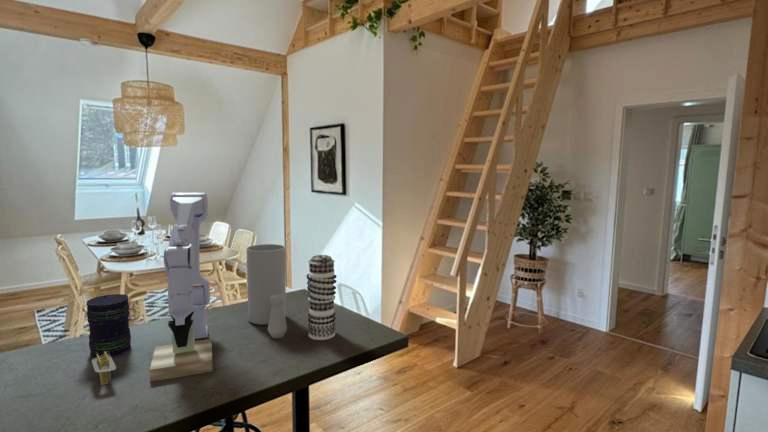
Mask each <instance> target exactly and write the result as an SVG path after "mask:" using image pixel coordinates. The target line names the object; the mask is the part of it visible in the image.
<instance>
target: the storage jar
mask: <svg viewBox="0 0 768 432" xmlns="http://www.w3.org/2000/svg"><path fill="white" fill-rule="evenodd" d="M129 302H130V301H129V296H128V295H127V294H123V293H119V294H118V293H116V294H115V293H114V294H113V293H112V294H106V295H104V294H103V295H99V296H96V297H92V298H90V299H88V300H87V301H86V306H87V307H86V316H87V323H88V330H89V336H88V346H89V356H90V357H91V358H92V359H94V358H96V357H97V354H98V356H100V355H102V354H104V352H106V353H110V355H111V357H112V358H116V357H118V356H122V355H124V354H126V353H128V352H129V351H131V349H132V344H131V339H132V334H131V329H130V324H129V323H130V322H129V319H130V318H129V317H130V303H129Z"/></svg>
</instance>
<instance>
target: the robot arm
mask: <svg viewBox="0 0 768 432" xmlns="http://www.w3.org/2000/svg"><path fill="white" fill-rule="evenodd" d="M208 199H209V198H208V194H207V193H206V192H172V193H171V194H170V197H169V205H170V211H171V213H172V216H173V218H174V220H175V221H176V225H175V226H174V227H173V228H172V229H171V232H170V237H169V243H168V248H165V249H164V250H163V265H164V269H165V277H167V295H168V310H167V314H169V316H170V317H171V319H172V320H168V324H167V325H168V326H167V327H168V328H170V330H171V332H173V334H174V337H175V341H176V345H177V347H178V348H179V347H186V346H187V342H188V334H189V330H190V327H191V325H194V335H195V340H198V339H204V338H207V337H208V335H209V334H208V325H207V320H206V319H207V318H206V306H208V305H209V304H210V301H211V289H210V281H209V279H208V278H206V277H204V276H203V275H202V274H201V272H200V270H201V269H200V267H201V266H200V263H201V262H200V229H201V228H200V227H201V225H202V222H203V221H206V220H207V219H208V213H209V212H208V203H209V202H208Z"/></svg>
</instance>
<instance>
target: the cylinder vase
mask: <svg viewBox="0 0 768 432" xmlns="http://www.w3.org/2000/svg"><path fill="white" fill-rule="evenodd" d="M246 280H247V281H246V283H247V288H246V289H247V319H248V322H250V323H251V324H254V325H260V326H267V325H269V319H270V313H271V307H272V303H270V297H271V296H272V295H275V294H282V295H283V296H284V302H283V308H284V314H285V318H286V316H287V311H286V310H287V308H286V307H287V305H286V300H287V299H286V290H287V289H286V246H285V245H282V244H272V243H265V244H256V245H255V244H254V245H251V246H247V247H246Z"/></svg>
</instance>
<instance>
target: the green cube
mask: <svg viewBox="0 0 768 432" xmlns="http://www.w3.org/2000/svg"><path fill="white" fill-rule="evenodd" d="M171 332H172V331H171ZM171 338H172V339H171V340H172V344H171V345H173V353H178V352H185V351H192V350H194V348H195V340H196V339H195V335H194V325H191V327H190V330H189V334H188V342H187V346H186V347H179V348H178V347H177V345H176V341H175V337H174V334H173V332H172V334H171Z"/></svg>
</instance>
